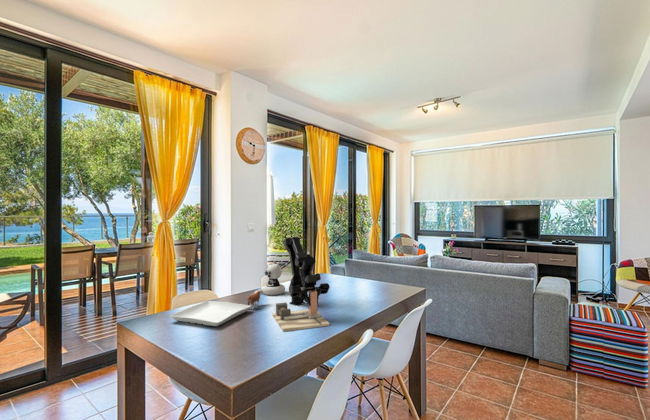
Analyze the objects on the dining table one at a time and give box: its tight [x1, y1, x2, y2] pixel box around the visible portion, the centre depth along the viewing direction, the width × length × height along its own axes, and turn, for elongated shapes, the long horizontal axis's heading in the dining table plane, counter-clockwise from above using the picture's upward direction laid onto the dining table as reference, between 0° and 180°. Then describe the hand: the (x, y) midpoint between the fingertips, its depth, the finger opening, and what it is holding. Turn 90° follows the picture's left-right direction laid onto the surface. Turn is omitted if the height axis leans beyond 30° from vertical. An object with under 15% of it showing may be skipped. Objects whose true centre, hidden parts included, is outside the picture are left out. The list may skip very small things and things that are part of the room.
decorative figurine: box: [260, 261, 286, 296], centre depth 205 cm, size 15×15×20 cm
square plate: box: [169, 300, 252, 327], centre depth 160 cm, size 27×27×4 cm
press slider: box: [280, 290, 322, 320], centre depth 154 cm, size 6×18×12 cm, turn 110°
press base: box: [272, 302, 331, 333], centre depth 154 cm, size 23×21×6 cm
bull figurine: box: [246, 288, 265, 310], centre depth 177 cm, size 4×13×8 cm, turn 161°
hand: (313, 305), depth 155 cm, fingers closed on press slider, 3 cm apart
